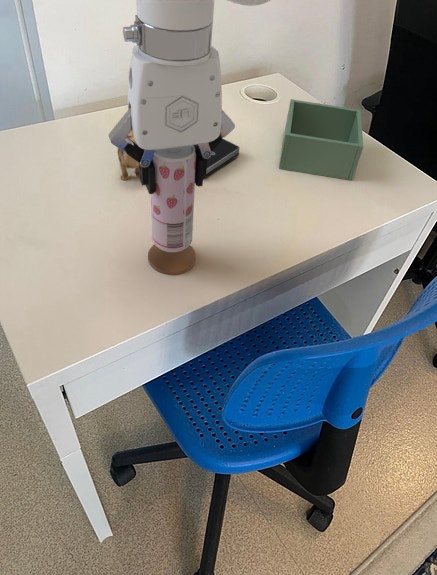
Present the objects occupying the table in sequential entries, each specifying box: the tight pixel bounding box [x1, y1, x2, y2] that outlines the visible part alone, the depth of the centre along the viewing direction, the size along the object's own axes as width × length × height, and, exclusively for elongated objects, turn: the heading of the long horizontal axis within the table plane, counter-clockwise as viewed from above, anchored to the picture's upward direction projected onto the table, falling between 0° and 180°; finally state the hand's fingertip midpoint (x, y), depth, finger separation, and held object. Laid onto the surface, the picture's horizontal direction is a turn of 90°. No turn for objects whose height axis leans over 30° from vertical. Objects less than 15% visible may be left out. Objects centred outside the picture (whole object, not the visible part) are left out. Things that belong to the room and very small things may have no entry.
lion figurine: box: [117, 130, 140, 181], centre depth 85 cm, size 15×5×9 cm, turn 13°
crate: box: [278, 98, 364, 181], centre depth 93 cm, size 14×14×7 cm
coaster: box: [147, 243, 197, 276], centre depth 73 cm, size 7×7×1 cm
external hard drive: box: [194, 138, 240, 179], centre depth 91 cm, size 7×11×2 cm, turn 142°
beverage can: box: [150, 145, 196, 252], centre depth 65 cm, size 6×6×15 cm
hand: (173, 182), depth 63 cm, fingers closed on beverage can, 5 cm apart
